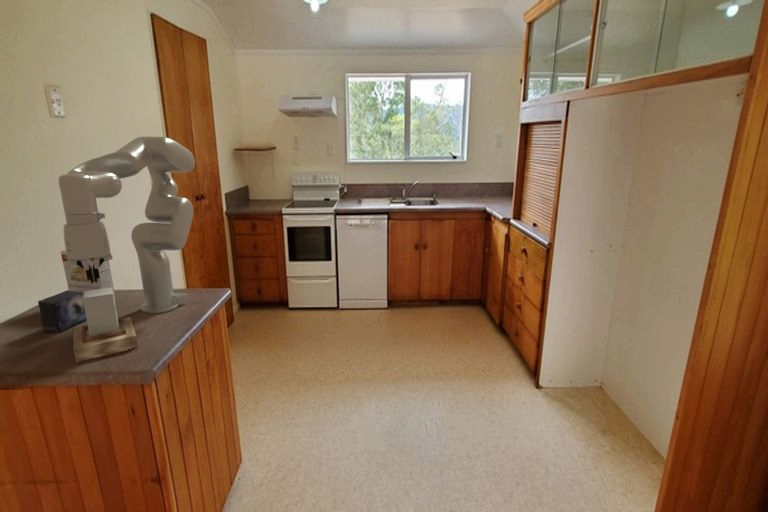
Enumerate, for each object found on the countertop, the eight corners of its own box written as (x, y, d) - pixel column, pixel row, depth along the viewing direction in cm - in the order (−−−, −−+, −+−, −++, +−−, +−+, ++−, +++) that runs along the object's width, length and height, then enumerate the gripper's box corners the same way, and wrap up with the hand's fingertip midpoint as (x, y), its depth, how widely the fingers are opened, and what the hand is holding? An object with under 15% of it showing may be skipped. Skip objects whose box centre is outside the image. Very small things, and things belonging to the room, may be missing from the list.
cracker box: (70, 304, 153) (59, 250, 147) (83, 299, 159) (73, 246, 153) (104, 307, 151) (94, 252, 145) (116, 301, 157) (107, 248, 151)
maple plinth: (132, 327, 135) (129, 313, 134) (138, 347, 123) (135, 331, 121) (76, 339, 127) (72, 324, 125) (76, 362, 114) (72, 345, 113)
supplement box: (119, 333, 123) (112, 293, 119) (89, 339, 119) (81, 298, 116) (119, 324, 129) (113, 286, 125) (91, 329, 125) (83, 290, 122)
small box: (59, 333, 131) (53, 303, 128) (43, 331, 132) (35, 301, 129) (89, 320, 141) (83, 291, 138) (73, 318, 142) (67, 289, 139)
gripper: (113, 214, 121) (123, 273, 126) (49, 219, 113) (62, 282, 118) (115, 218, 116) (125, 280, 120) (47, 223, 107) (61, 290, 112)
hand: (94, 281), depth 119 cm, fingers closed
